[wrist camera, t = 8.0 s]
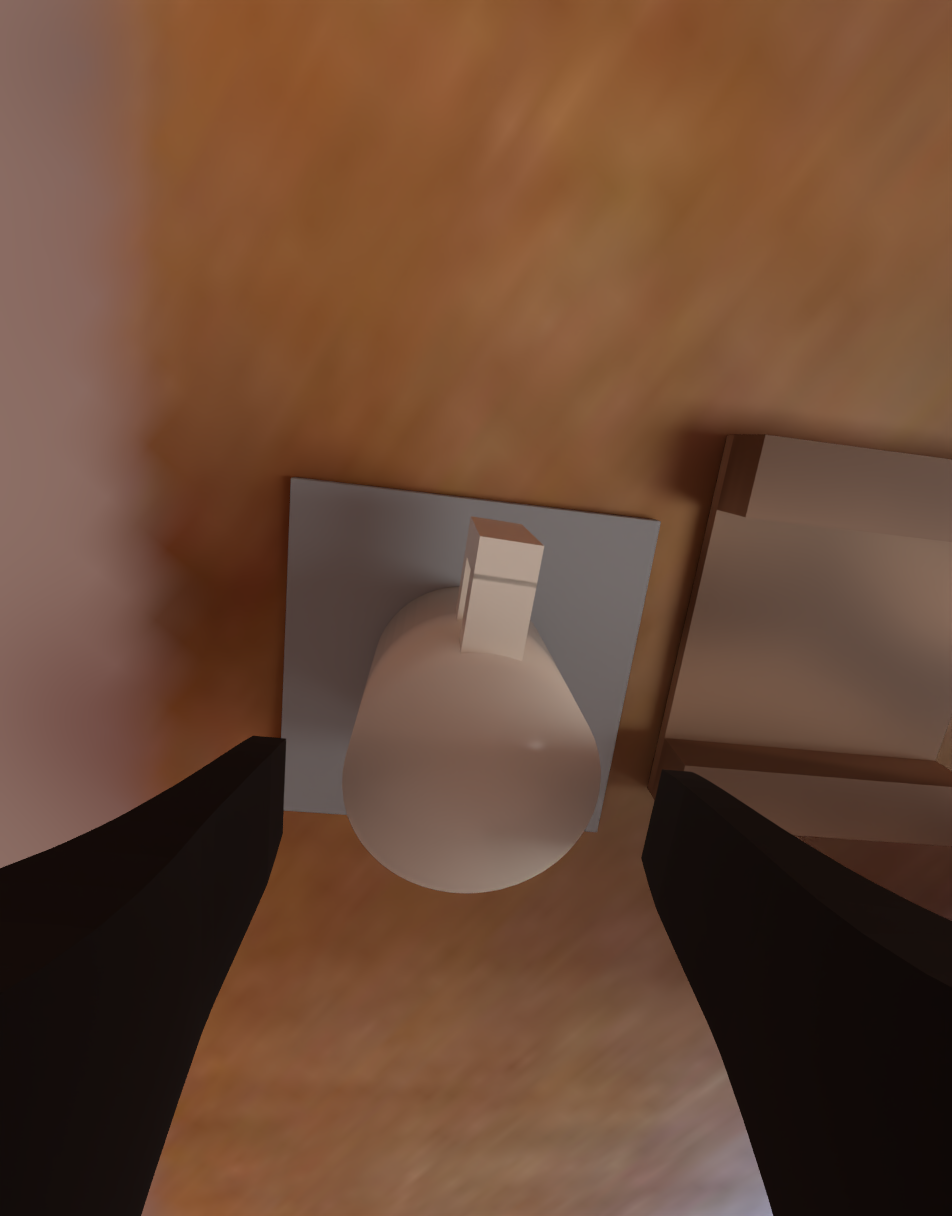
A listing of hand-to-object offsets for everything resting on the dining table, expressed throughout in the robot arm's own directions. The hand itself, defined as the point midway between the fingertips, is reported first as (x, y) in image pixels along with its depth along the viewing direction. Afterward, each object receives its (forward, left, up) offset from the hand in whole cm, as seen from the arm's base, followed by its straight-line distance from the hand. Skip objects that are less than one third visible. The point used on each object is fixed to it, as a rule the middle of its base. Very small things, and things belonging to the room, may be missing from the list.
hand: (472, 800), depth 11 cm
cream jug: (+1, 0, -6) cm, 6 cm away
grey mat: (0, 0, -7) cm, 7 cm away
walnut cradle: (+2, -11, -7) cm, 13 cm away
